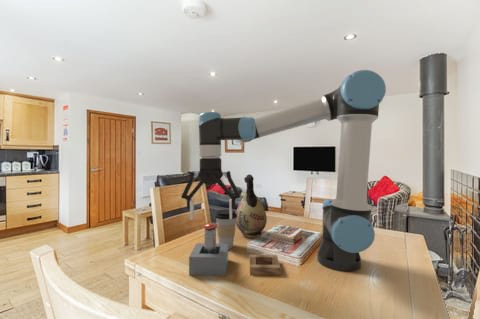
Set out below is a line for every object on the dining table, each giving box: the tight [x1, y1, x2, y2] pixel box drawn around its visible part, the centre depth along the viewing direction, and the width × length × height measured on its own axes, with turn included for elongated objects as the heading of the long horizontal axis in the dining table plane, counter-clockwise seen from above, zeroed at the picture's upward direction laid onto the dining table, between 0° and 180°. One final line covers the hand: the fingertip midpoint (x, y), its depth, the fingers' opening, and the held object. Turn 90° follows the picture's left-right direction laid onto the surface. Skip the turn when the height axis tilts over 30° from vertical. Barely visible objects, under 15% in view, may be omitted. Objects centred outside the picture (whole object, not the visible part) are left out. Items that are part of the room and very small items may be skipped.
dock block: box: [188, 242, 229, 277], centre depth 86 cm, size 12×12×6 cm
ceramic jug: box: [235, 173, 268, 238], centre depth 120 cm, size 17×15×30 cm
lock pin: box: [203, 222, 217, 254], centre depth 86 cm, size 5×5×15 cm
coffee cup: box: [214, 209, 237, 250], centre depth 105 cm, size 9×9×15 cm
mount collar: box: [249, 254, 282, 276], centre depth 86 cm, size 10×10×2 cm
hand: (211, 218), depth 86 cm, fingers open, 13 cm apart
